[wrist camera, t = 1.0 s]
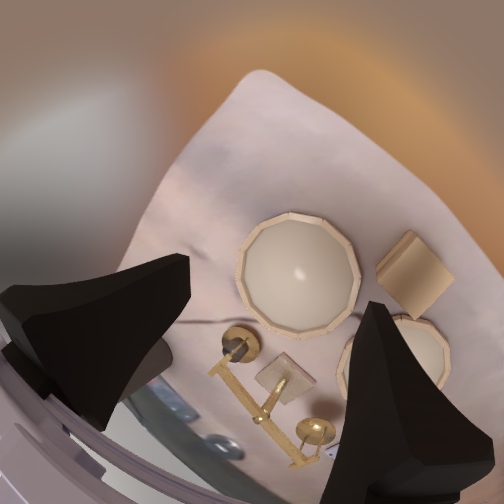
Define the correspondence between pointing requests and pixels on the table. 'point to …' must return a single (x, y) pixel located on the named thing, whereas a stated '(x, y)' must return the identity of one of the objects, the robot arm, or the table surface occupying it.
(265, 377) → the balance scale
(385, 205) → the table surface
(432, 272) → the maple block
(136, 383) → the bottle
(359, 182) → the table surface
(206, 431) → the table surface
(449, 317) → the table surface
